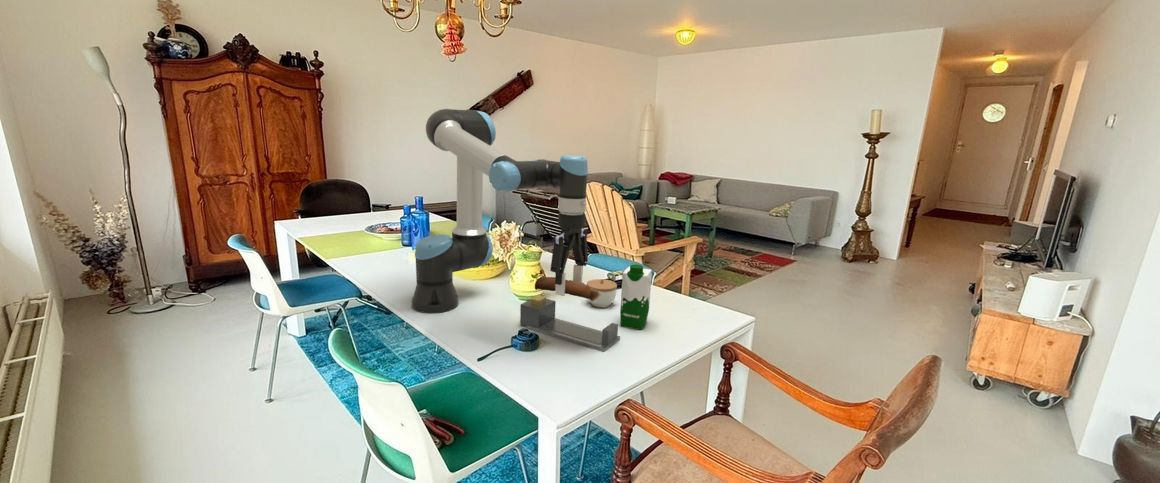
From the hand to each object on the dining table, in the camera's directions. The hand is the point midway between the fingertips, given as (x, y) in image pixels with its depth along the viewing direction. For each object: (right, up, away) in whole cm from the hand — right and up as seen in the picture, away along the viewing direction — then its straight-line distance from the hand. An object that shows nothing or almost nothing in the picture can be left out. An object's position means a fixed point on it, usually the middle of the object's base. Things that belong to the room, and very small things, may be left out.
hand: (568, 290), depth 137 cm
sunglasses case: (0, -1, +1) cm, 1 cm away
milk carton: (+21, -13, +17) cm, 30 cm away
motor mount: (-1, -14, +9) cm, 16 cm away
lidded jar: (+11, -9, +33) cm, 36 cm away
